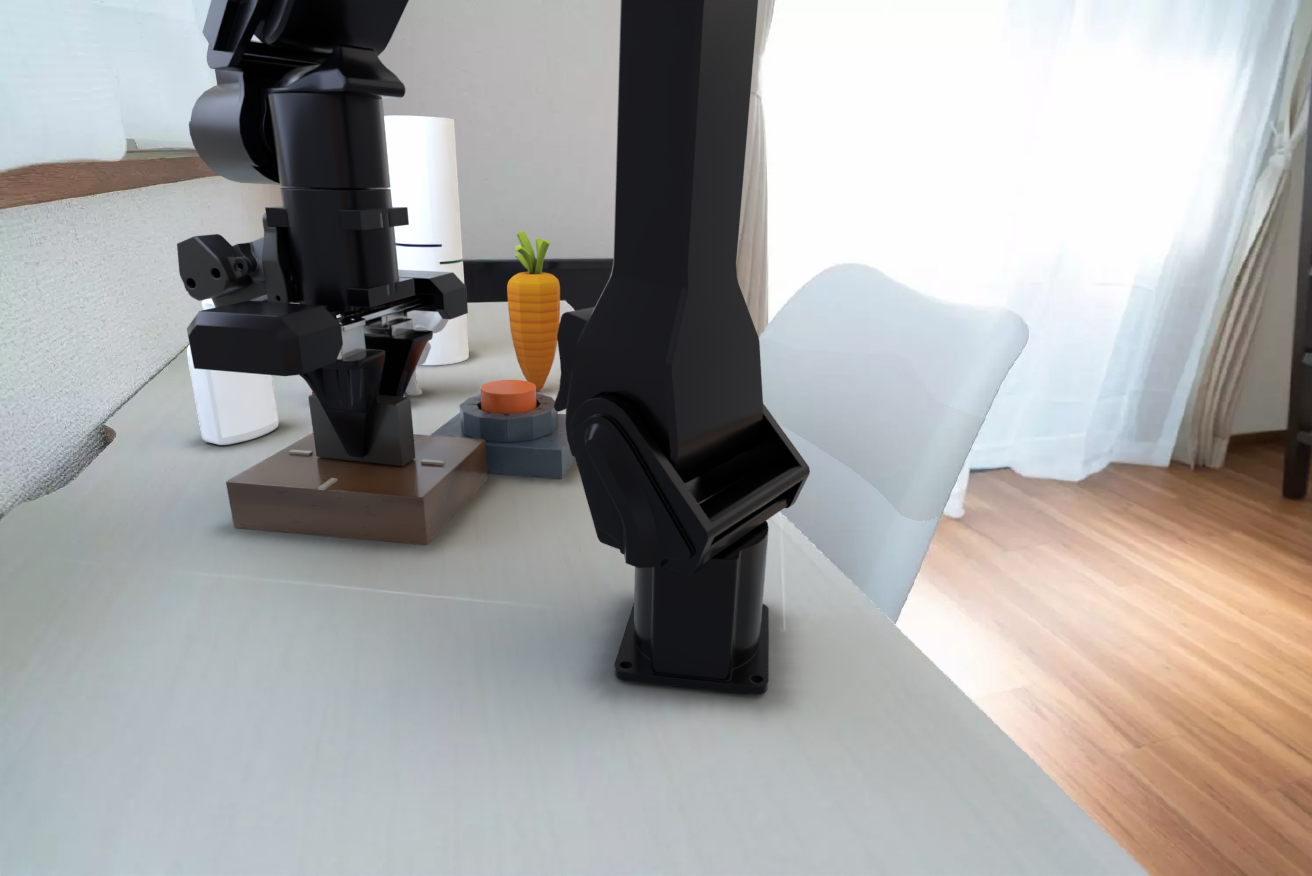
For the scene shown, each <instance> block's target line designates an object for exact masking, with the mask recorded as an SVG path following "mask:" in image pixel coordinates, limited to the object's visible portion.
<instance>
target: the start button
mask: <svg viewBox="0 0 1312 876" xmlns="http://www.w3.org/2000/svg"><path fill="white" fill-rule="evenodd" d="M479 389H480V391H479V392H480V395H481V410H482V411H486V412H489V413H502V414H511V413H522V412H527V411H530V410H534V409H536V408H537V407H536V393H537V392H536V386H535V384H533V383H531V382H528V381H527V380H523V379H498V380H493V381H489V382H485V383H484V384H482V385H481V386H480V388H479Z"/></svg>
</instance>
